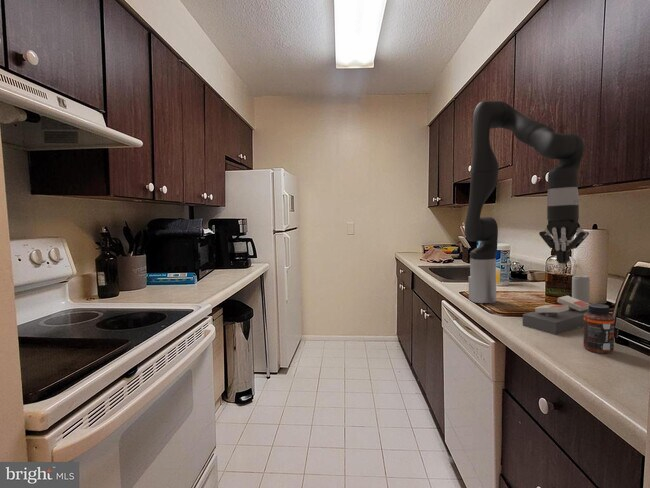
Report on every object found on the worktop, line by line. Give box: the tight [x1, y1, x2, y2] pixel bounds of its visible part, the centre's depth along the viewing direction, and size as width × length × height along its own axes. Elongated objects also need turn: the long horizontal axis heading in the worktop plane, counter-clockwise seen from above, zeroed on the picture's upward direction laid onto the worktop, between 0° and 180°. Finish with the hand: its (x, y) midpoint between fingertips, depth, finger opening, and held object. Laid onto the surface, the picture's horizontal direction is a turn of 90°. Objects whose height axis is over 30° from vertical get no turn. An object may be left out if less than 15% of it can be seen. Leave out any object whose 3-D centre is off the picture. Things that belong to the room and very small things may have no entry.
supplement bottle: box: [583, 303, 615, 355], centre depth 84 cm, size 6×6×11 cm
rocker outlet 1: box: [534, 304, 569, 312], centre depth 103 cm, size 7×5×2 cm
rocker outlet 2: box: [556, 294, 590, 311], centre depth 107 cm, size 7×5×2 cm
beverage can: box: [571, 274, 591, 304], centre depth 116 cm, size 5×5×12 cm
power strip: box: [522, 304, 589, 336], centre depth 105 cm, size 10×22×4 cm, turn 114°
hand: (563, 263), depth 99 cm, fingers closed
